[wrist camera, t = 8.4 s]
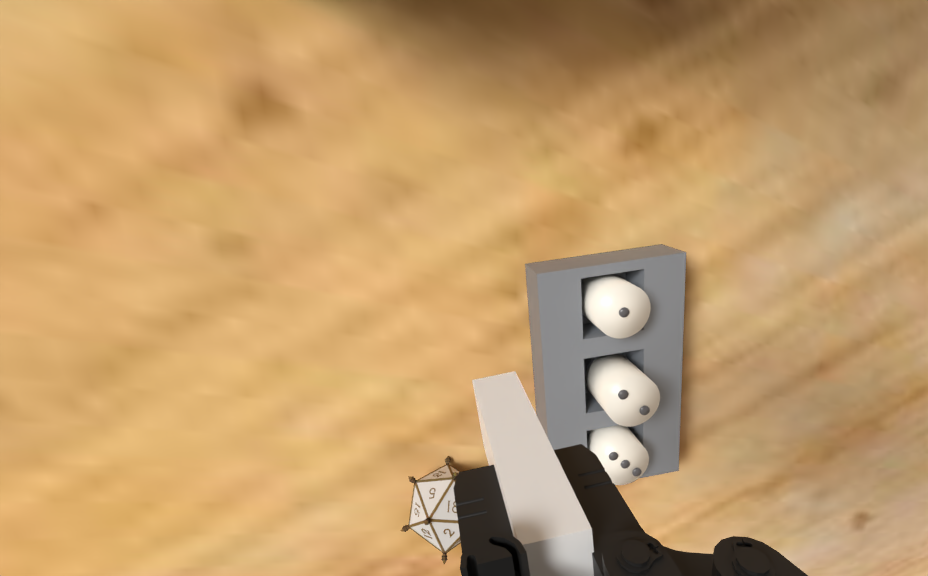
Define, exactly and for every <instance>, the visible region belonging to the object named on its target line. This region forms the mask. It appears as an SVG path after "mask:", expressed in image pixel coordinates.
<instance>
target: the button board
mask: <svg viewBox="0 0 928 576" xmlns="http://www.w3.org/2000/svg"><path fill="white" fill-rule="evenodd" d="M525 267H526V281H527V294H528V307H529V320H530V334H531V347H532V360H533V373H534V387H535V400H536V413H537V417H538V419H539V421H540V423H541V425H542V427H543V429H544V431H545V434H546V436H547V438H548V440H549V442H550V444H551V446H552V448H553V450H556V449H561V448H565V447H570V446H574V445H579V444H582V445H583V446H585V447H586V448H587V431H588V430H594V429H600V428H605V427H611V426H616V425H618V424H617V423H615V422H614V421H613V420H612V419H611V418H610V417H609V416H608V414H607V413H606V412H605V411H604V409H603V408H602V407H601V405H600V404H599V403H598V402H597V400H596V399H595V398H594V397H593V395H592V394H591V393H590V392H589V390H588V389H587V387H586V383H585V375H586V372H587V369H588V367H589V366H590V364H591V363H592V362H593V361H594V360H595V359H597V358H598V357H600V356H605V355H611V354H621V355H623V356H625V357H626V358H627V359H628V360H629V361H630V362H632V363H633V364H634V365H635V366H636V367H637V368H638V369H639V370H640V371H642V372H643V373H644V374H645V375H646V376H647V377H648V378H649V379H650V380H652V381H653V382H654V383H655V384H656V385H657V387H658V389H659V392H660V402H659V406H658V408H657V410H656V412H655V413H654V414H653V416H652V417H651V418H650V419H648V420H647V421H645V422H644V423H642V424H640V425H637V426H631V427H628V428H629V429H630V431H631V432H632V433H633V434H634V435H635V437H636V438H637V439H638V440H639V442H640V443H641V444H642V445H643V446H644V448H645V449H646V450H647V452H648V455H649V463H648V466H647V469H646V471H645V472H644V473H643V475H642V476H641V477H640V478H643V477H648V476H653V475H659V474H664V473H669V472H674V471H679V443H680V415H681V386H682V357H683V328H684V300H685V271H686V252H684V251H681V250H677V249H674V248H671V247H668V246H665V245H662V244H661V245H654V246H647V247H640V248H633V249H626V250H619V251H612V252H605V253H598V254H591V255H584V256H577V257H570V258H563V259H556V260H549V261H542V262H535V263H528V264H525ZM608 274H615V275H617V276H619V277H621V278H622V279H624V280H626V281H628V282H630V283H632V284H633V285H635V286H637V287H639V288H641V289H642V290H643V291H644V292H645V293H646V294H647V296H648V298H649V300H650V306H651V310H650V315H649V318H648V320H647V322H646V324H645V325H644V327H643V328H642V329H641V330H640V331H639V332H637V333H636V334H634V335H632V336H630V337H627V338H621V339H620V338H612V337H610V336H608V335H606V334H605V333H603V332H602V331H601V330H600V329H599V328H598V327H597V326H595V325H594V324H593V323H592V322H591V321H590V320H589V319H587V318H586V317H585V316H584V315H583V314H582V295H581V282H582V280H583V279H584V278H587V277H594V276H601V275H608Z"/></svg>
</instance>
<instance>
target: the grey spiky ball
mask: <svg viewBox="0 0 928 576" xmlns="http://www.w3.org/2000/svg"><path fill="white" fill-rule="evenodd" d="M445 460H446V461H445V462H446V465H444V466H443V467H441V468H439V469H437V470H435V471H433V472H431V473H430V474H428V475H426V476H424V477H422V478H420V479H418V480H415V478H414V477H409V480H410V481H411V482H412V483H414V489H413V496H412V504H411V511H410V518H409V525H405V526H403V528H402V530H401V531H405V532H406V531H408V529H409V528H410V529H412V530H413V531H414V532H416V533H417V534H418V535H420V536H421V537H422V538H424V539H425V540H426V541H428V542H429V543H430V544H432V545H433V546H434V547H436V548H437V549H438V550H440V551H441V552H442V553H443V555H442V561H443V563H444V564H445V562H446V560H447V555H446V553H447V552H449V551H450V550H451V549H453V548H454V547H456V546H457V545H458V544H460V543H461V540H460V532H459V525H458V517H457V510H456V503H455V496H454V489H453V488H454V485H455V482H456V479H457V476H458V473H459V472H460V471H458V470H457V469H455V468H454V467H452V466H451V465H449V463H450V459H449V456H448V457H447V458H446V459H445Z"/></svg>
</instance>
